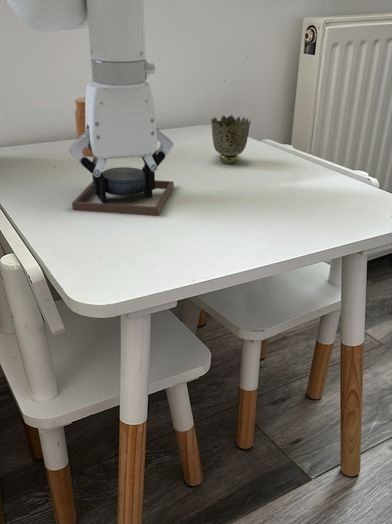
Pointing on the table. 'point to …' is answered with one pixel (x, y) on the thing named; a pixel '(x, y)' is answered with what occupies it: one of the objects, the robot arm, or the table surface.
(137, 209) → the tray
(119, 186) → the lid
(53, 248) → the table surface
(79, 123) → the jar
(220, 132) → the cup
